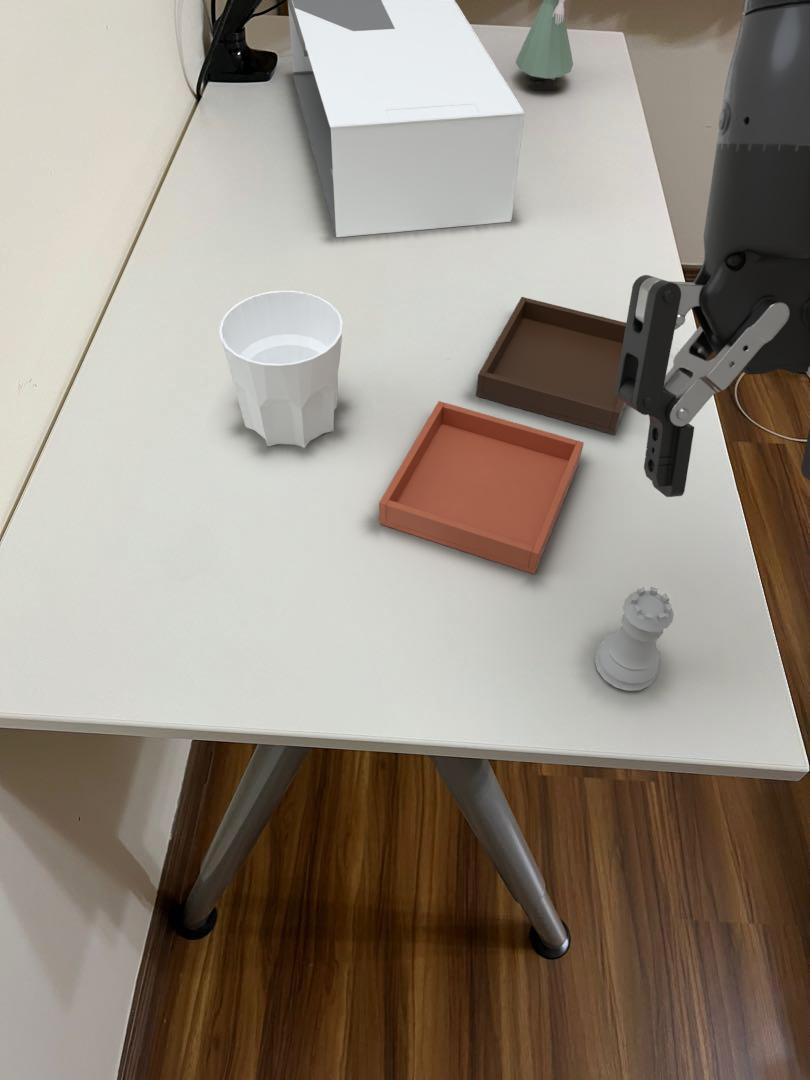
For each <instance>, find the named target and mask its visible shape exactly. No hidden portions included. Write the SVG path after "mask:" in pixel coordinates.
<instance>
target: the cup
mask: <svg viewBox="0 0 810 1080" xmlns="http://www.w3.org/2000/svg"><path fill="white" fill-rule="evenodd" d="M343 329H344V322H343V319H342V316H341V313H340V312H339V311H338V310H337V308H336V307H335V306H334V305H333V304H332V303H330V302H329V301H328V300H326V299H324V298H322V297H320V296H317V295H316V294H315V295H314V294H313V293H309V292H304V291H299V290H273V291H266V292H262V293H257V294H254V295H252V296H249V297H247V298H245V299H242V300H240V301H239V302H237V303H236V304H235V305H233V306H232V307H230V308H229V309H228V311H226V313H225V314H224V316H223V317H222V318H221V321H220V325H219V327H218V332H219V339H220V342H221V345H222V349H223V353H224V355H225V360H226V362H227V366H228V369H229V372H230V376H231V379H232V383H233V386H234V390H235V393H236V398H237V401H238V405H239V408H240V411H241V416H242V420H243V423H244V426H245V428H246V429H250V430H252V431H255V432H256V433H257V434H258V435H259V436H260V437H262V438H263V439H264V440H265V443H266V446H267V447H271V446H276V445H294V446H297V447H301V448H303V449H306V447H307V445H308V444H309V443H310V442H311V441H313V440H314V439H317V438H318V437H320V436H321V435H323V434H326V433H331V432H334V430H335V429H334V425H335V424H334V423H335V410H336V409H337V407H338V385H339V367H340V362H341V361H340V360H341V351H342V340H343Z"/></svg>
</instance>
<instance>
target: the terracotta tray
mask: <svg viewBox="0 0 810 1080" xmlns="http://www.w3.org/2000/svg"><path fill="white" fill-rule="evenodd" d="M584 445H585V443H584V442H583V441H580V440H577V439H573V438H569V437H567V436H564V435H563V436H562V435H560V434H556V433H552V432H549V431H545V430H542V429H538V428H534V427H531V426H528V425H524V424H521V423H517V422H514V421H510V420H507V419H504V418H500V417H497V416H493V415H489V414H486V413H483V412H478V411H475V410H472V409H468V408H465V407H461V406H458V405H455V404H452V403H447V402H444V401H441V400H438V401H437V403H436V405H435V406H434V408H433V410H432V412H431V413H430V415H429V417H428V419H427V420H426V422H425V423H424V425H423V427H422V429H421V430H420V431H419V434H418V435H417V436H416V439H415V441H414V443H413V444H412V446H411V448H410V450H409V451H408V453H407V454H406V456H405V458H403V459H404V460H403V461H402V463H401V465H400V466H399V468H398V469H397V471H396V473H395V475H394V476H393V478H392V480H391V481H390V483H389V485H388V486H387V488H386V490H385V491H384V493H383V495H382V497H381V499H380V500H379V502H378V517H379V518H378V519H379V521H378V523H379V525H382V526H386V527H389V528H390V529H391V528H392V529H395V530H397V531H400V532H404V533H406V534H409V535H413V536H416V537H418V538H421V539H425V540H428V541H431V542H435V543H437V544H439V545H443V546H447V547H448V548H449V547H450V548H452V549H455V550H458V551H462V552H464V553H468V554H470V555H473V556H476V557H480V558H483V559H486V560H489V561H491V562H494V563H498V564H501V565H505V566H507V567H510V568H513V569H516V570H520V571H523V572H525V573H529V574H532V575H536V573H537V570H538V567H539V564H540V562H541V560H542V558H543V554H544V552H545V549H546V547H547V545H548V542H549V540H550V537H551V534H552V532H553V529H554V527H555V524H556V521H557V520H558V517H559V514H560V512H561V509H562V507H563V504H564V501H565V498H566V497H567V494H568V492H569V489H570V487H571V484H572V481H573V479H574V477H575V474H576V472H577V469H578V468H579V467H578V466H579V464H580V460H581V456H582V453H583V448H584Z"/></svg>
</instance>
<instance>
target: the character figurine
mask: <svg viewBox="0 0 810 1080" xmlns="http://www.w3.org/2000/svg"><path fill="white" fill-rule="evenodd" d="M565 2H566V0H543V1H542V2H541V4H540V7H539V9H538V12H537V14H536V16H535V18H534V20H533V23H532V25H531V27H530V29H529V31H528V33H527V35H526V38H525V40H524V42H523V44H522V46H521V48H520V51H519V53H518V55H517V57H516V60H515V64H516V66H517V67H518V69H519V70H520V71H522V72H523V73H525V74H526V75H528V76H530V77H531V78H530V79H531V80H533V81H541V82H537V83H534V84H533V85H532V89H534V90H539V91H540V90H541V91H546V90H548V91H549V90H550V91H551V90H555V89H556V78H562V77H564V76H565V75H567V74H570V73H571V72H572V69H573V66H574V60H573V56H572V50H571V45H570V40H569V34H568V29H567V22H566V17H565V6H564V5H565Z"/></svg>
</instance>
